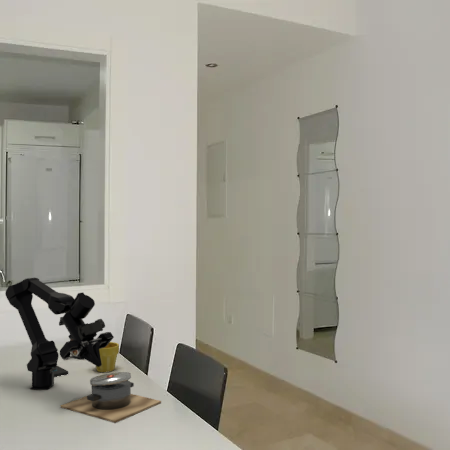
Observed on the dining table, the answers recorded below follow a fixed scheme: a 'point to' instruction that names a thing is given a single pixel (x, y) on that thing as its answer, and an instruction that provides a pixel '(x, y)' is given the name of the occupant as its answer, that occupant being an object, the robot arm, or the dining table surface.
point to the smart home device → (59, 371)
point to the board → (114, 415)
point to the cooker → (111, 396)
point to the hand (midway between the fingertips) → (100, 365)
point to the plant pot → (108, 357)
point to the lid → (110, 378)
